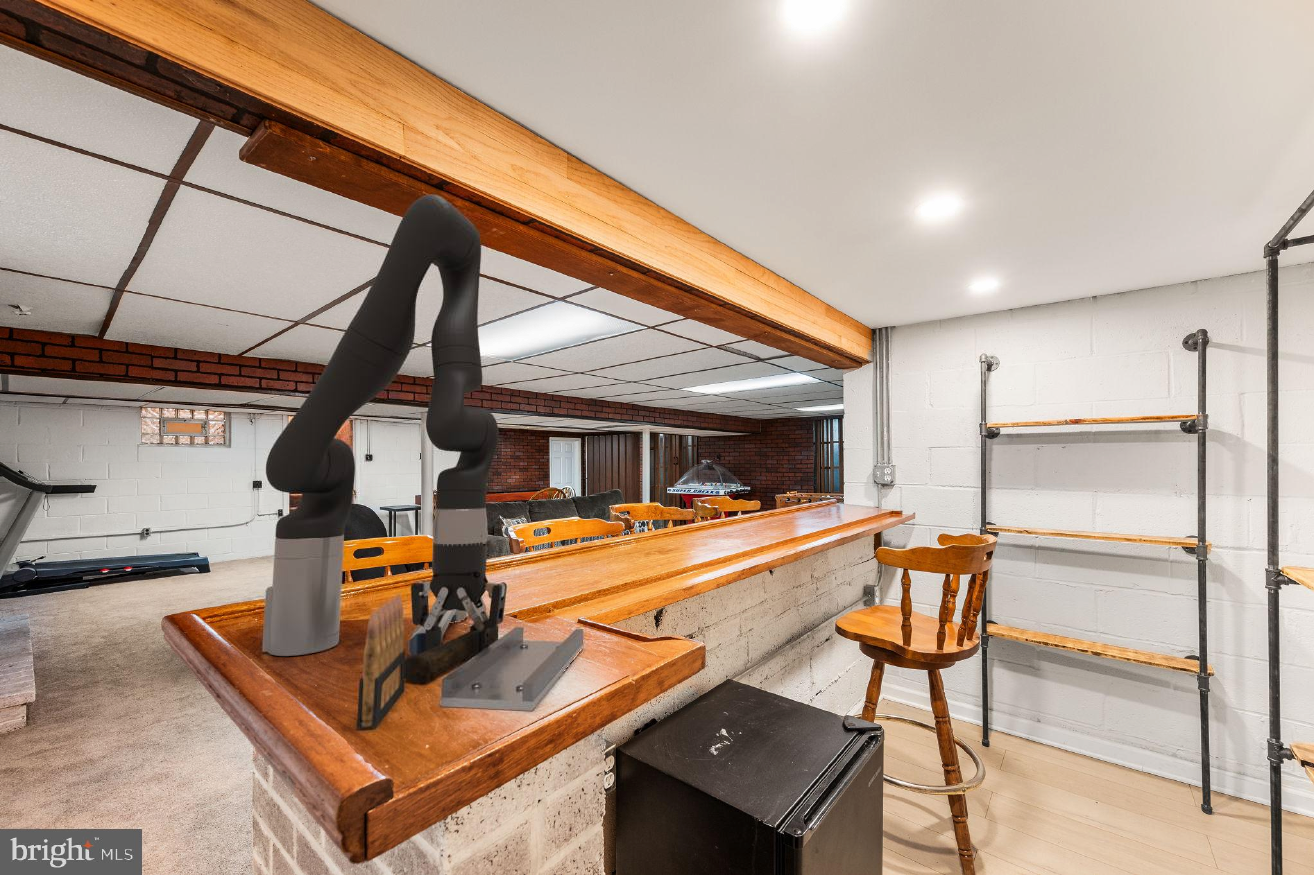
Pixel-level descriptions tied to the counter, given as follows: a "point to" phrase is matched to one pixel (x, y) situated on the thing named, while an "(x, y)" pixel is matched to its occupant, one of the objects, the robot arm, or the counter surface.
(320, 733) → the counter surface
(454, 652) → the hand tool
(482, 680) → the grey channel tray
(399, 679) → the ammunition clip
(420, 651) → the grey plastic handle
